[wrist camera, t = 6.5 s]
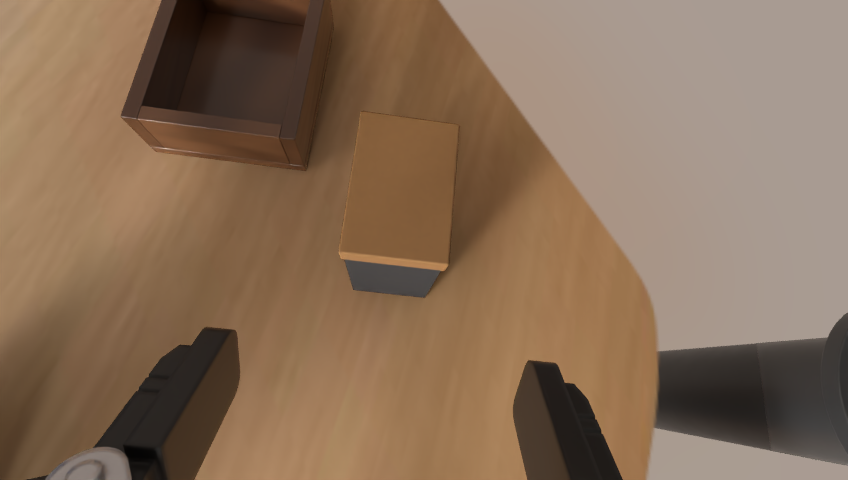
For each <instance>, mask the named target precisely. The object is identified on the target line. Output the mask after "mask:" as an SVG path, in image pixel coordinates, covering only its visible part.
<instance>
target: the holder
mask: <svg viewBox="0 0 848 480" xmlns="http://www.w3.org/2000/svg"><path fill="white" fill-rule="evenodd" d="M333 29H334V25H333V18H332V10H331V2H330V0H162V1H161V4H160V6H159V9H158V12H157V15H156V18H155V21H154V23H153V26H152V29H151V32H150V35H149V37H148V40H147V43H146V46H145V49H144V52H143V54H142V57H141V60H140V63H139V66H138V69H137V71H136V74H135V77H134V80H133V83H132V86H131V88H130V91H129V94H128V97H127V100H126V102H125V105H124V108H123V111H122V114H121V118H122V119H123V120H124V121H125V122H126V123H127V124H128V125H129V126H130V127H131V128H132V129H133V130H134V131H135V132H136V133H137V134H138V135H139V136H140V137H141V138H142V139H143V140H144V141H145V142H146V143H147V144H148V145H149V146H151V147H152V148H153V149H154V150H155V151H156V152H163V153H171V154H179V155H186V156H194V157H202V158H210V159H218V160H225V161H233V162H241V163H249V164H257V165H264V166H272V167H280V168H288V169H296V170H304V171H306V168H307V163H308V157H309V152H310V147H311V142H312V137H313V132H314V127H315V121H316V116H317V111H318V106H319V101H320V96H321V91H322V86H323V80H324V75H325V70H326V65H327V60H328V55H329V50H330V44H331V39H332V34H333Z"/></svg>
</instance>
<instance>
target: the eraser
mask: <svg viewBox="0 0 848 480" xmlns="http://www.w3.org/2000/svg"><path fill="white" fill-rule="evenodd" d="M459 130H460V126H459V124H453V123H446V122H438V121H431V120H424V119H417V118H410V117H402V116H395V115H388V114H381V113H373V112H366V111H361V113H360V119H359V125H358V131H357V137H356V144H355V150H354V156H353V163H352V169H351V175H350V181H349V188H348V194H347V200H346V207H345V213H344V219H343V225H342V232H341V238H340V244H339V250H338V251H339V255H340V258H341V259H344V260H345V263H346V267H347V270H348V273H349V277H350V280H351V284H352V287H353V290H359V291H368V292H377V293H386V294H395V295H404V296H413V297H423V298H424V297H425V296H426V295H427V293H428V291H429V290H430V288H431V287H432V285H433V283H434V282H435V280H436V278H437V277H438V275H439V273H440V272H441V271H445V270H446V268H447V267H448V265H449V259H450V246H451V233H452V220H453V207H454V194H455V181H456V168H457V155H458V142H459Z"/></svg>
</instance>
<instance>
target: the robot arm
mask: <svg viewBox="0 0 848 480" xmlns="http://www.w3.org/2000/svg"><path fill="white" fill-rule="evenodd" d="M239 379H240V364H239V351H238V338H237V332H236V331H235V330H232V329H222V328H212V327H205V328H204V329H202V331H201V332H200V333H199V335H198V336H197V338H196V339H195V341H194V342H193V344H192V345H191V346H190V345H179V346H177V347H176V348H175V349H173V350H172V351H170V352H169V353H167V354H166V355H165V356H163V357H162V358H161V359H160V360H159V362H158V363H157V364H156V366H155V367H154V368H153V370H152V371H151V372H150V374H149V377H147V378H146V379H145V380H144V382H143V383H142V384H141V385H140V387H139V390H138V391H136V392H135V393H134V395H133V396H132V397H131V399H130V400H129V401H128V403H127V404H126V405H125V407H124V408H123V409H122V411H121V412H120V413H119V415H118V416H117V417H116V419H115V420H114V421H113V423H112V424H111V425H110V427H109V428H108V429H107V431H106V432H105V433H104V435H103V436H102V437H101V439H100V440H99V441H98V443H97V444H96V445H95V446H94V447H93V448H92V449H88V450H85V451H82V452H80V453H78V454H75V455H74V456H72V457H70V458H68V459H67V460H65V461H64V462H62V463H61V464H60V465H58V466H57V467H56V468H55V469H54V470H53V471H52V472H51V473H50V474H49V475H46V476H42V477H37V478H32V479H27V480H194V479H195V477H196V475H197V473H198V471H199V469H200V467H201V465H202V462H203V460H204V458H205V456H206V454H207V452H208V450H209V448H210V446H211V444H212V442H213V440H214V438H215V436H216V434H217V432H218V430H219V427H220V425H221V423H222V421H223V419H224V417H225V415H226V413H227V411H228V409H229V407H230V405H231V403H232V401H233V399H234V397H235V394H236V392H237V388H238V385H239ZM513 418H514V424H515V428H516V432H517V437H518V441H519V445H520V450H521V454H522V458H523V463H524V467H525V471H526V476H527V480H623V479H622V477H621V475H620V473H619V470H618V468H617V466H616V463H615V461H614V459H613V456H612V454H611V452H610V450H609V447H608V445H607V443H606V440H605V438H604V436H603V434H601V429H600V427H599V424H598V422H597V420H595V415H594V413H593V411H592V408H591V406H590V404H589V401H588V399H587V398H586V397H585V396H584V395H583V394H582V392H581V391H580V390H579V389H578V388H577V387H576V386H575V384H570V383H565V382H564V380H563V377H562V375H561V372H560V370H559V367H558V365H557V364H556V363H551V362H541V361H531V360H529V361H528V362H527V363H526V365H525V368H524V371H523V374H522V377H521V380H520V383H519V386H518V389H517V393H516V396H515V399H514V405H513Z"/></svg>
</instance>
